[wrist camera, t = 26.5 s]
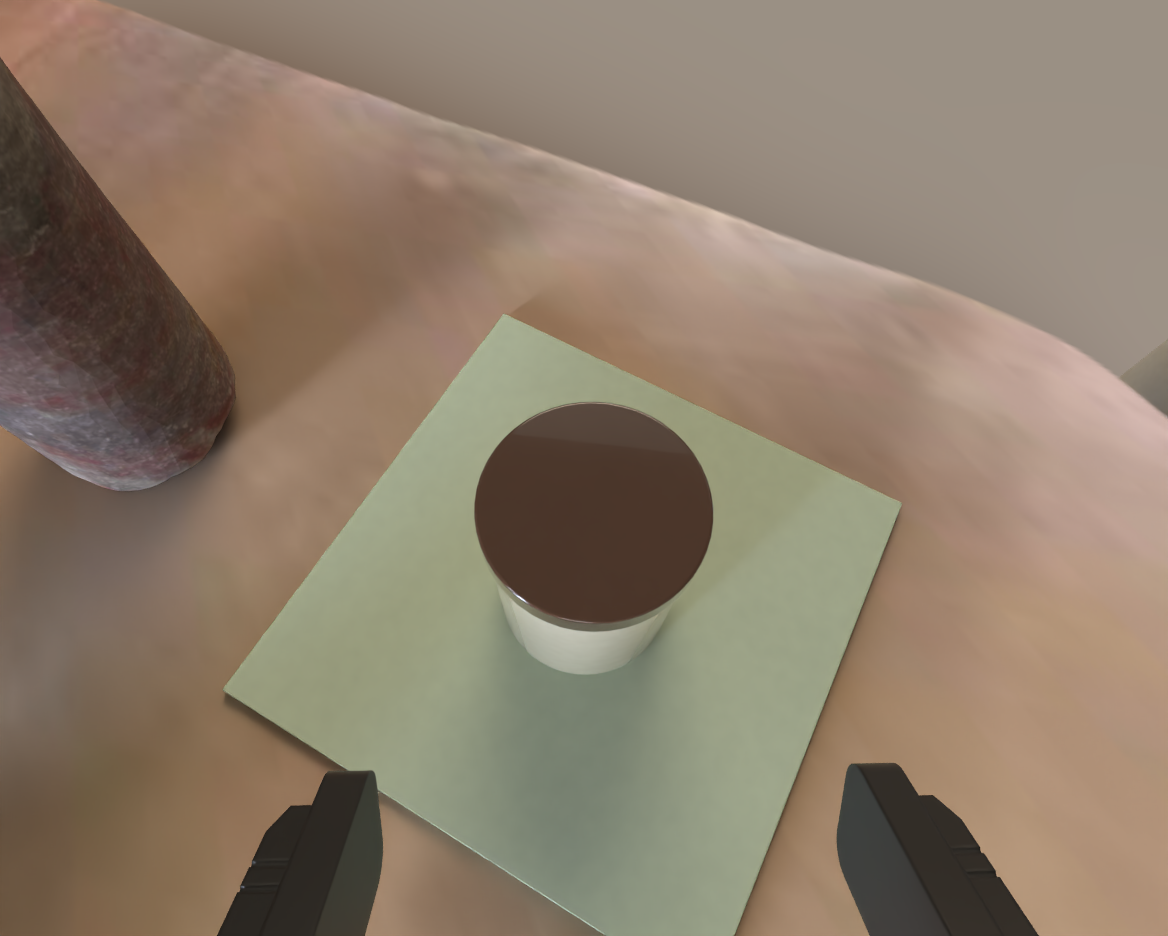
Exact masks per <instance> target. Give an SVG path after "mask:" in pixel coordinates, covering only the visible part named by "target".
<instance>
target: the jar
mask: <svg viewBox="0 0 1168 936" xmlns="http://www.w3.org/2000/svg"><path fill="white" fill-rule="evenodd" d="M474 521H475V528H476V534H477V537H478V541H479V544H480V548H481V551H482V555H483V558H484V560H485V562H486V565H487V567H488V569H489V571H490V573H491V574H492V576H493V578H494V579H495V581H496V585H497V589H498V592H499V596H500V600H501V603H502V607H503V611H504V614H505V618H506V621H507V623H508V625H509V627H510V630H511V631H512V633H513V635H514V636H515V638H516V639H517V641H518V642H519V643H520V644H521V646H522V647H523V648H524V649H525V650H526V651H527V652H528V653H529V654H531V655H532V656H533V657H534V658H536V659H537V660H539V661H540V662H542V663H544V664H545V665H547V666H549V667H551V668H554V669H557V670H560V671H563V672H567V673H572V674H582V675H588V674H599V673H604V672H608V671H611V670H614V669H617V668H620V667H622V666H624V665H626V664H628V663H629V662H631V661H632V660H634V659H635V658H637V657H638V656H639V655H640V654H641V653H642V652H643V651H645V650H646V649H647V647H648V646H649V645H650V644H651V643H652V641H653V640H654V638H655V637H656V635H657V634H658V632H659V630H660V628H661V627H662V625H663V623H664V621H665V619H666V617H667V615H668V613H669V611H670V610H671V608H672V606H673V604H674V602H675V600H676V599H678V598H679V596H680V595H681V594H682V593H683V592H684V591H685V589H686V588H687V587H688V586H689V584H690V583H691V581H692V579H693V578H694V576H695V575H696V573H697V571H698V569H699V568H700V566H701V564H702V562H703V559H704V557H705V555H706V553H707V550H708V547H709V544H710V540H711V537H712V529H713V522H714V517H713V501H712V494H711V490H710V487H709V483H708V480H707V477H706V475H705V473H704V471H703V468H702V466H701V464H700V463H699V461H698V459H697V458H696V456H695V455H694V453H693V452H692V451H691V449H690V448H689V447H688V446H687V444H686V443H685V442H684V441H683V440H682V439H681V438H680V437H679V436H678V435H677V434H676V433H675V432H674V431H672V430H671V429H670V428H669V427H667V426H666V425H665V424H663V423H662V422H660V421H658V420H657V419H655V418H653V417H652V416H650V415H648V414H645V413H643V412H641V411H639V410H636V409H633V408H630V407H626V406H623V405H618V404H613V403H605V402H578V403H571V404H565V405H561V406H558V407H554V408H551V409H548V410H546V411H543V412H541V413H538V414H536V415H535V416H533V417H531V418H529V419H527V420H526V421H524V422H523V423H521V424H520V425H519V426H517V427H516V428H514V429H513V430H512V431H511V432H510V433H509V434H508V435H507V436H506V437H505V438H504V439H503V440H502V441H501V442H500V443H499V444H498V446H497V447H496V448H495V449H494V451H493V452H492V454H491V455H490V457H489V459H488V460H487V462H486V464H485V466H484V468H483V471H482V473H481V475H480V478H479V482H478V485H477V488H476V495H475V501H474Z"/></svg>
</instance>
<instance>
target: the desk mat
mask: <svg viewBox="0 0 1168 936" xmlns="http://www.w3.org/2000/svg"><path fill="white" fill-rule="evenodd" d="M578 402H605V403H613V404H618V405H623V406H626V407H630V408H633V409H636V410H639V411H641V412H643V413H645V414H648V415H650V416H652V417H653V418H655V419H657V420H658V421H660V422H662V423H663V424H665V425H666V426H667V427H669V428H670V429H671V430H672V431H674V432H675V433H676V434H677V435H678V436H679V437H680V438H681V439H682V440H683V441H684V442H685V443H686V444H687V446H688V447H689V448H690V449H691V451H692V452H693V453H694V455H695V456H696V458H697V459H698V461H699V463H700V464H701V466H702V468H703V471H704V473H705V475H706V477H707V480H708V483H709V487H710V490H711V494H712V501H713V517H714V522H713V529H712V537H711V540H710V544H709V547H708V550H707V553H706V555H705V557H704V559H703V562H702V564H701V566H700V568H699V569H698V571H697V573H696V575H695V576H694V578H693V579H692V581H691V583H690V584H689V586H688V587H687V588H686V589H685V591H684V592H683V593H682V594H681V595H680V596H679V598H678V599H676V600H675V602H674V604H673V606H672V608H671V610H670V611H669V613H668V615H667V617H666V619H665V621H664V623H663V625H662V627H661V628H660V630H659V632H658V634H657V635H656V637H655V638H654V640H653V641H652V643H651V644H650V645H649V646H648V647H647V649H646V650H645V651H643V652H642V653H641V654H640V655H639V656H638V657H637V658H635V659H634V660H632V661H631V662H629V663H628V664H626V665H624V666H622V667H620V668H617V669H614V670H611V671H608V672H604V673H599V674H588V675H582V674H572V673H567V672H563V671H560V670H557V669H554V668H551V667H549V666H547V665H545V664H544V663H542V662H540V661H539V660H537V659H536V658H534V657H533V656H532V655H531V654H529V653H528V652H527V651H526V650H525V649H524V648H523V647H522V646H521V644H520V643H519V642H518V641H517V639H516V638H515V636H514V635H513V633H512V631H511V630H510V627H509V625H508V623H507V621H506V618H505V614H504V611H503V607H502V603H501V600H500V596H499V592H498V589H497V585H496V581H495V579H494V578H493V576H492V574H491V573H490V571H489V569H488V567H487V565H486V562H485V560H484V558H483V555H482V551H481V548H480V544H479V541H478V537H477V534H476V528H475V521H474V501H475V495H476V488H477V485H478V482H479V478H480V475H481V473H482V471H483V468H484V466H485V464H486V462H487V460H488V459H489V457H490V455H491V454H492V452H493V451H494V449H495V448H496V447H497V446H498V444H499V443H500V442H501V441H502V440H503V439H504V438H505V437H506V436H507V435H508V434H509V433H510V432H511V431H512V430H513V429H514V428H516V427H517V426H519V425H520V424H521V423H523V422H524V421H526V420H527V419H529V418H531V417H533V416H535V415H536V414H538V413H541V412H543V411H546V410H548V409H551V408H554V407H558V406H561V405H565V404H571V403H578ZM901 505H902V503H901V502H899V501H896V500H894V499H892V498H890V497H888V496H886V495H884V494H882V493H880V492H878V491H875V490H873V489H871V488H869V487H867V486H865V485H863V484H861V483H859V482H857V481H854V480H852V479H850V478H848V477H846V476H844V475H842V474H840V473H838V472H836V471H833V470H831V469H829V468H827V467H825V466H823V465H821V464H819V463H817V462H815V461H812V460H810V459H808V458H806V457H804V456H802V455H800V454H798V453H796V452H794V451H791V450H789V449H787V448H785V447H783V446H781V445H779V444H777V443H775V442H773V441H770V440H768V439H766V438H764V437H762V436H760V435H758V434H756V433H754V432H752V431H749V430H747V429H745V428H743V427H741V426H739V425H737V424H735V423H733V422H731V421H728V420H726V419H724V418H722V417H720V416H718V415H716V414H714V413H712V412H710V411H707V410H705V409H703V408H701V407H699V406H697V405H695V404H693V403H691V402H689V401H686V400H684V399H682V398H680V397H678V396H676V395H674V394H672V393H670V392H668V391H665V390H663V389H661V388H659V387H657V386H655V385H653V384H651V383H649V382H646V381H644V380H642V379H640V378H638V377H636V376H634V375H632V374H630V373H628V372H625V371H623V370H621V369H619V368H617V367H615V366H613V365H611V364H609V363H607V362H604V361H602V360H600V359H598V358H596V357H594V356H592V355H590V354H588V353H586V352H583V351H581V350H579V349H577V348H575V347H573V346H571V345H569V344H567V343H565V342H562V341H560V340H558V339H556V338H554V337H552V336H550V335H548V334H546V333H544V332H541V331H539V330H537V329H535V328H533V327H531V326H529V325H527V324H525V323H523V322H520V321H518V320H516V319H514V318H512V317H510V316H508V315H506V314H503V315H502V317H501V318H500V319H499V321H498V322H497V323H496V325H495V326H494V327H493V329H492V330H491V331H490V333H489V334H488V335H487V337H486V338H485V339H484V341H483V342H482V343H481V345H480V346H479V347H478V349H477V350H476V351H475V353H474V354H473V355H472V357H471V358H470V359H469V361H468V362H467V363H466V365H465V366H464V367H463V369H462V370H461V371H460V373H459V374H458V375H457V377H456V378H455V379H454V381H453V382H452V383H451V385H450V386H449V387H448V389H447V390H446V391H445V393H444V394H443V395H442V397H441V398H440V399H439V401H438V402H437V403H436V405H435V406H434V407H433V409H432V410H431V411H430V413H429V414H428V415H427V417H426V418H425V419H424V421H423V422H422V423H421V425H420V426H419V427H418V429H417V430H416V431H415V433H414V434H413V436H412V437H411V438H410V440H409V441H408V442H407V444H406V445H405V446H404V448H403V449H402V450H401V452H400V453H399V454H398V456H397V457H396V458H395V460H394V461H393V462H392V464H391V465H390V466H389V468H388V469H387V470H386V472H385V473H384V474H383V476H382V477H381V478H380V480H379V481H378V482H377V484H376V485H375V486H374V488H373V489H372V490H371V492H370V493H369V494H368V496H367V497H366V498H365V500H364V501H363V502H362V504H361V505H360V506H359V508H358V509H357V510H356V512H355V513H354V514H353V516H352V517H351V518H350V520H349V521H348V522H347V524H346V525H345V526H344V528H343V529H342V530H341V532H340V533H339V534H338V536H337V537H336V538H335V540H334V541H333V542H332V544H331V545H330V546H329V548H328V549H327V550H326V552H325V553H324V554H323V556H322V557H321V558H320V560H319V561H318V562H317V564H316V565H315V566H314V568H313V569H312V571H311V572H310V573H309V575H308V576H307V577H306V579H305V580H304V581H303V583H302V584H301V585H300V587H299V588H298V589H297V591H296V592H295V593H294V595H293V596H292V597H291V599H290V600H289V601H288V603H287V604H286V605H285V607H284V608H283V609H282V611H281V612H280V613H279V615H278V616H277V617H276V619H275V620H274V621H273V623H272V624H271V625H270V627H269V628H268V629H267V631H266V632H265V633H264V635H263V636H262V637H261V639H260V640H259V641H258V643H257V644H256V645H255V647H254V648H253V649H252V651H251V652H250V653H249V655H248V656H247V657H246V659H245V660H244V661H243V663H242V664H241V665H240V667H239V668H238V669H237V671H236V672H235V673H234V675H233V676H232V677H231V679H230V680H229V681H228V683H227V684H226V685H225V687H224V688H223V691H225V692H226V693H228V694H229V695H231V696H232V697H234V698H236V699H237V700H239V701H240V702H242V703H243V704H245V705H246V706H248V707H250V708H251V709H253V710H254V711H256V712H257V713H259V714H261V715H262V716H264V717H265V718H267V719H268V720H270V721H271V722H273V723H275V724H276V725H278V726H279V727H281V728H282V729H284V730H286V731H287V732H289V733H290V734H292V735H293V736H295V737H296V738H298V739H300V740H301V741H303V742H304V743H306V744H307V745H309V746H311V747H312V748H314V749H315V750H317V751H318V752H320V753H321V754H323V755H325V756H326V757H328V758H329V759H331V760H332V761H334V762H336V763H337V764H339V765H340V766H342V767H343V768H345V769H346V770H348V771H365V770H372V771H374V773H375V776H376V781H377V789H378V790H379V791H381V792H382V793H384V794H385V795H387V796H389V797H390V798H392V799H393V800H395V801H396V802H398V803H400V804H401V805H403V806H404V807H406V808H407V809H409V810H410V811H412V812H414V813H415V814H417V815H418V816H420V817H421V818H423V819H425V820H426V821H428V822H429V823H431V824H432V825H434V826H435V827H437V828H439V829H440V830H442V831H443V832H445V833H446V834H448V835H450V836H451V837H453V838H454V839H456V840H457V841H459V842H460V843H462V844H464V845H465V846H467V847H468V848H470V849H471V850H473V851H475V852H476V853H478V854H479V855H481V856H482V857H484V858H485V859H487V860H489V861H490V862H492V863H493V864H495V865H496V866H498V867H499V868H501V869H503V870H504V871H506V872H507V873H509V874H510V875H512V876H514V877H515V878H517V879H518V880H520V881H521V882H523V883H524V884H526V885H528V886H529V887H531V888H532V889H534V890H535V891H537V892H539V893H540V894H542V895H543V896H545V897H546V898H548V899H549V900H551V901H553V902H554V903H556V904H557V905H559V906H560V907H562V908H564V909H565V910H567V911H568V912H570V913H571V914H573V915H574V916H576V917H578V918H579V919H581V920H582V921H584V922H585V923H587V924H589V925H590V926H592V927H593V928H595V929H596V930H598V931H599V932H601V933H603V934H604V935H606V936H734V935H735V932H736V930H737V927H738V925H739V922H740V920H741V917H742V914H743V912H744V909H745V907H746V904H747V902H748V899H749V896H750V894H751V891H752V889H753V886H754V884H755V881H756V878H757V876H758V873H759V871H760V868H761V866H762V863H763V860H764V858H765V855H766V853H767V850H768V847H769V845H770V842H771V840H772V837H773V835H774V832H775V829H776V827H777V824H778V822H779V819H780V817H781V814H782V811H783V809H784V806H785V804H786V801H787V799H788V796H789V793H790V791H791V788H792V786H793V783H794V781H795V778H796V775H797V773H798V770H799V768H800V765H801V763H802V760H803V757H804V755H805V752H806V750H807V747H808V745H809V742H810V739H811V737H812V734H813V732H814V729H815V727H816V724H817V721H818V719H819V716H820V714H821V711H822V709H823V706H824V703H825V701H826V698H827V696H828V693H829V690H830V688H831V685H832V683H833V680H834V678H835V675H836V672H837V670H838V667H839V665H840V662H841V660H842V657H843V654H844V652H845V649H846V647H847V644H848V642H849V639H850V636H851V634H852V631H853V629H854V626H855V624H856V621H857V618H858V616H859V613H860V611H861V608H862V606H863V603H864V600H865V598H866V595H867V593H868V590H869V588H870V585H871V582H872V580H873V577H874V575H875V572H876V570H877V567H878V564H879V562H880V559H881V557H882V554H883V552H884V549H885V546H886V544H887V541H888V539H889V536H890V533H891V531H892V528H893V526H894V523H895V521H896V518H897V515H898V513H899V510H900V508H901Z"/></svg>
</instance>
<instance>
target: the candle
mask: <svg viewBox="0 0 1168 936" xmlns="http://www.w3.org/2000/svg"><path fill="white" fill-rule="evenodd" d="M235 398H236V397H235V375H234V372H233V369H232V367H231V364H230V362H229V360H228V357H227V355H226V353H225V351H224V350H223V348H222V346H221V345H220V344H219V342H218V341H217V340H216V338H215V337H214V335H213V334H212V332H211V331H210V330H209V329H208V328H207V326H206V325H205V324H204V323H203V321H202V320H201V319H200V317H199V316H198V315H197V313H196V312H195V310H194V309H193V308H192V306H191V305H190V304H189V303H188V301H187V300H186V299H185V297H184V296H183V295H182V293H181V292H180V291H179V290H178V288H177V287H176V286H175V285H174V283H173V282H172V281H171V280H170V278H169V277H168V276H167V275H166V273H165V272H164V271H163V269H162V268H161V267H160V266H159V264H158V263H157V262H156V261H155V259H154V258H153V257H152V255H151V254H150V253H149V251H148V250H147V249H146V247H145V246H144V245H143V243H142V242H141V241H140V239H139V238H138V237H137V236H136V234H135V233H134V232H133V231H132V229H131V228H130V227H129V226H128V224H127V223H126V222H125V221H124V219H123V218H122V217H121V216H120V214H119V213H118V212H117V210H116V209H115V208H114V207H113V205H112V204H111V203H110V202H109V200H108V199H107V198H106V196H105V195H104V194H103V192H102V191H101V190H100V188H99V187H98V186H97V184H96V183H95V182H94V180H93V179H92V178H91V177H90V175H89V174H88V173H87V172H86V170H85V169H84V168H83V167H82V165H81V164H80V163H79V161H78V160H77V159H76V158H75V156H74V155H73V154H72V152H71V151H70V150H69V148H68V147H67V146H66V145H65V143H64V142H63V141H62V139H61V138H60V137H59V135H58V134H57V133H56V131H55V130H54V129H53V127H52V126H51V125H50V123H49V122H48V121H47V119H46V118H45V117H44V115H43V114H42V113H41V111H40V110H39V109H38V107H37V106H36V105H35V103H34V102H33V101H32V99H31V98H30V97H29V95H28V94H27V93H26V92H25V90H24V89H23V88H22V86H21V85H20V84H19V82H18V81H17V80H16V78H15V77H14V76H13V74H12V73H11V71H10V70H9V69H8V67H7V66H6V65H5V63H4V62H3V60H2V59H1V58H0V426H2V427H3V428H5V429H6V430H7V431H9V432H10V433H12V434H13V435H15V436H17V437H18V438H19V439H21V440H22V441H23V442H25V443H26V444H28V445H29V446H30V447H32V448H33V449H35V450H36V451H38V452H39V453H40V454H42V455H43V456H45V457H46V458H48V459H49V460H51V461H53V462H55V463H56V464H57V465H59V466H60V467H62V468H63V469H65V470H66V471H68V472H69V473H71V474H73V475H75V476H77V477H79V478H82V479H84V480H87V481H89V482H92V483H94V484H96V485H99V486H101V487H103V488H107V489H112V490H116V491H133V490H141V489H146V488H150V487H153V486H156V485H158V484H160V483H162V482H164V481H167V480H168V479H169V478H171V477H173V476H175V475H178V474H180V473H182V472H184V471H186V470H187V469H189V468H191V467H193V466H194V465H196V464H197V463H198V462H200V461H201V460H203V459H204V457H205V456H206V454H207V453H208V452H209V450H210V448H211V446H212V444H213V442H214V440H215V437H216V435H217V434H218V433H219V431H220V430H221V429H222V426H223V423H224V422H225V420H226V418H227V416H228V414H229V412H230V410H231V408H232V406H233V403H234V401H235Z"/></svg>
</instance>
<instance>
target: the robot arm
mask: <svg viewBox="0 0 1168 936" xmlns="http://www.w3.org/2000/svg"><path fill="white" fill-rule="evenodd" d="M837 851H838V857H839V862H840V866H841V869H842V872H843V875H844V877H845V879H846V882H847V884H848V886H849V889H850V891H851V893H852V896H853V898H854V900H855V903H856V905H857V907H858V910H859V912H860V914H861V917H862V919H863V921H864V923H865V926H866V928H867V930H868V933H869V935H870V936H1039V935H1038V934H1037V932H1036V931H1035V929H1034V928H1033V926H1032V925H1031V923H1030V922H1029V920H1028V919H1027V917H1026V916H1025V914H1024V913H1023V911H1022V910H1021V908H1020V907H1019V905H1018V904H1017V902H1016V901H1015V899H1014V898H1013V896H1012V895H1011V893H1010V892H1009V890H1008V889H1007V887H1006V886H1005V884H1004V883H1003V881H1002V880H1001V878H1000V877H997V876H996V871H995V869H994V868H993V866H992V865H991V863H990V862H989V860H988V859H987V857H986V856H985V854H984V853H981V851H980V847H979V845H978V844H977V842H976V841H975V839H974V838H973V836H972V835H971V833H970V832H969V830H968V829H967V827H966V826H965V824H964V823H963V821H962V819H960V818H959V817H958V816H957V815H956V814H954V813H953V812H952V811H951V810H950V809H949V808H947V807H946V806H945V805H944V804H943V803H942V802H940V801H939V800H938V799H937V798H936V797H934V796H933V795H923V796H919V795H918V794H917V792H916V791H915V789H914V787H913V786H912V784H911V783H910V781H909V779H908V778H907V776H906V774H905V773H904V771H903V770H902V768H901V767H900V766H899V765H898V764H896V763H862V764H851V765H849V767H848V769H847V773H846V778H845V784H844V791H843V797H842V803H841V810H840V816H839V822H838V828H837ZM382 857H383V838H382V828H381V819H380V810H379V800H378V791H377V781H376V776H375V773H374V771H372V770H365V771H328V772H327V773H326V774H325V776H324V778H323V780H322V782H321V784H320V787H319V789H318V792H317V794H316V797H315V799H314V801H313V804H312V805H302V806H290V807H289V808H288V809H287V810H286V811H285V812H284V813H283V814H282V815H281V816H280V817H279V819H278V820H277V821H276V822H275V823H274V824H273V825H272V826H271V827H270V828H269V829H268V830H267V831H266V832H265V835H264V837H263V839H262V841H261V843H260V845H259V847H258V849H257V852H256V854H255V856H254V858H253V860H252V866H251V867H249V869H248V871H247V873H246V875H245V877H244V879H243V881H242V884H241V886H240V892H237V894H236V896H235V898H234V901H233V903H232V905H231V907H230V909H229V911H228V913H227V916H226V918H225V920H224V922H223V924H222V926H221V928H220V930H219V933H218V935H217V936H365V933H366V929H367V925H368V922H369V918H370V914H371V910H372V907H373V903H374V899H375V895H376V892H377V888H378V884H379V879H380V874H381V867H382Z"/></svg>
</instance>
